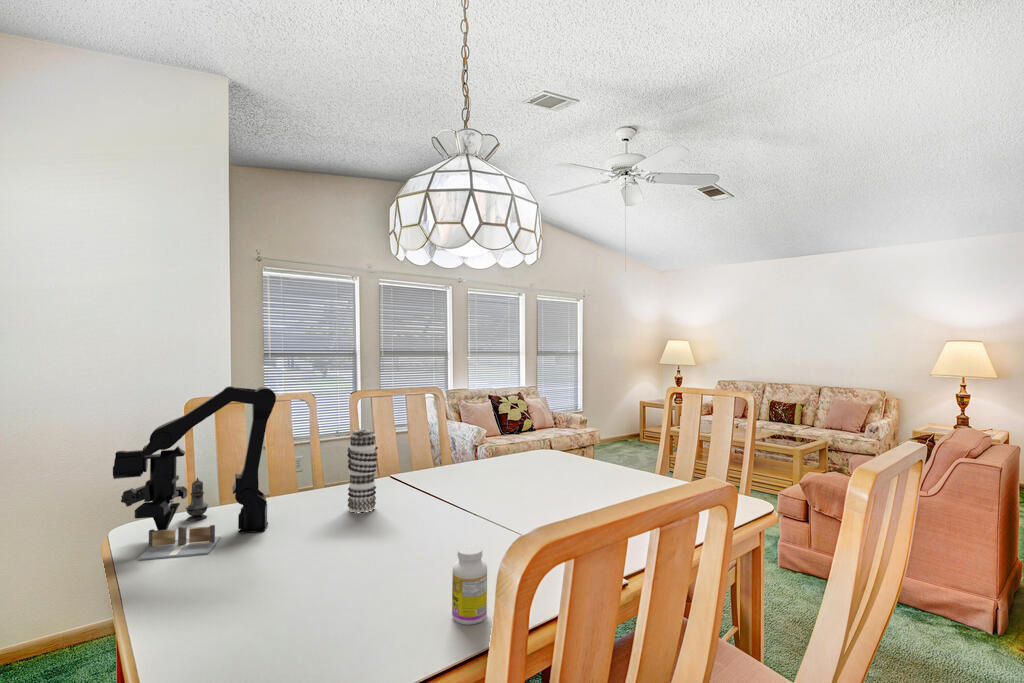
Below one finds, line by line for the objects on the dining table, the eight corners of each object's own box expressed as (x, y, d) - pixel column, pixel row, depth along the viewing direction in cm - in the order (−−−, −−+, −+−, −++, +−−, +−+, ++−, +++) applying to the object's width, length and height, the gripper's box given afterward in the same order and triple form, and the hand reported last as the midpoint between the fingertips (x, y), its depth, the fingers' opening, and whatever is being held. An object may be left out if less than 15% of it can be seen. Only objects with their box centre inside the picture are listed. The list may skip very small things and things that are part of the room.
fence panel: (175, 542, 132) (175, 527, 132) (173, 544, 131) (174, 529, 131) (149, 544, 130) (150, 529, 130) (147, 546, 129) (148, 531, 129)
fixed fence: (215, 542, 135) (215, 523, 135) (213, 544, 133) (213, 525, 133) (179, 545, 133) (179, 526, 133) (176, 547, 131) (177, 528, 131)
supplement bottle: (452, 608, 102) (453, 543, 102) (486, 607, 102) (486, 542, 102) (451, 627, 95) (452, 556, 95) (487, 625, 96) (488, 555, 96)
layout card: (220, 537, 138) (220, 535, 138) (208, 554, 127) (208, 552, 127) (156, 542, 134) (156, 541, 134) (137, 560, 123) (137, 558, 123)
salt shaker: (197, 522, 150) (198, 480, 150) (180, 520, 151) (180, 479, 151) (213, 515, 155) (213, 475, 156) (196, 514, 157) (196, 474, 157)
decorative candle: (351, 504, 168) (352, 427, 168) (379, 504, 168) (380, 427, 168) (342, 513, 159) (343, 432, 159) (373, 513, 159) (374, 432, 159)
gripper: (142, 467, 141) (141, 525, 141) (109, 485, 123) (108, 551, 123) (188, 465, 144) (187, 521, 144) (163, 482, 126) (162, 546, 126)
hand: (162, 534), depth 134 cm, fingers closed
